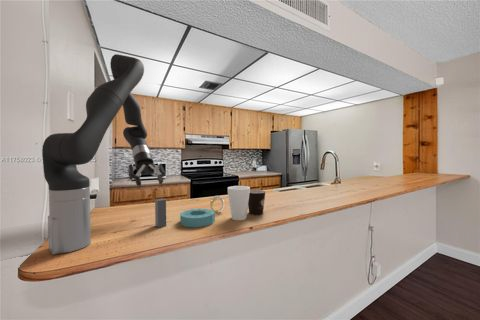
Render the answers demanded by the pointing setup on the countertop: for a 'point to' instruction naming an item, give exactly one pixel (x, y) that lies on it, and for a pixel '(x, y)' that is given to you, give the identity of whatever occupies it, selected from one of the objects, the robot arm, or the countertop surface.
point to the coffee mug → (256, 202)
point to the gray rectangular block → (160, 212)
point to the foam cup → (238, 201)
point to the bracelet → (215, 200)
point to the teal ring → (197, 217)
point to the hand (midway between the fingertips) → (150, 184)
